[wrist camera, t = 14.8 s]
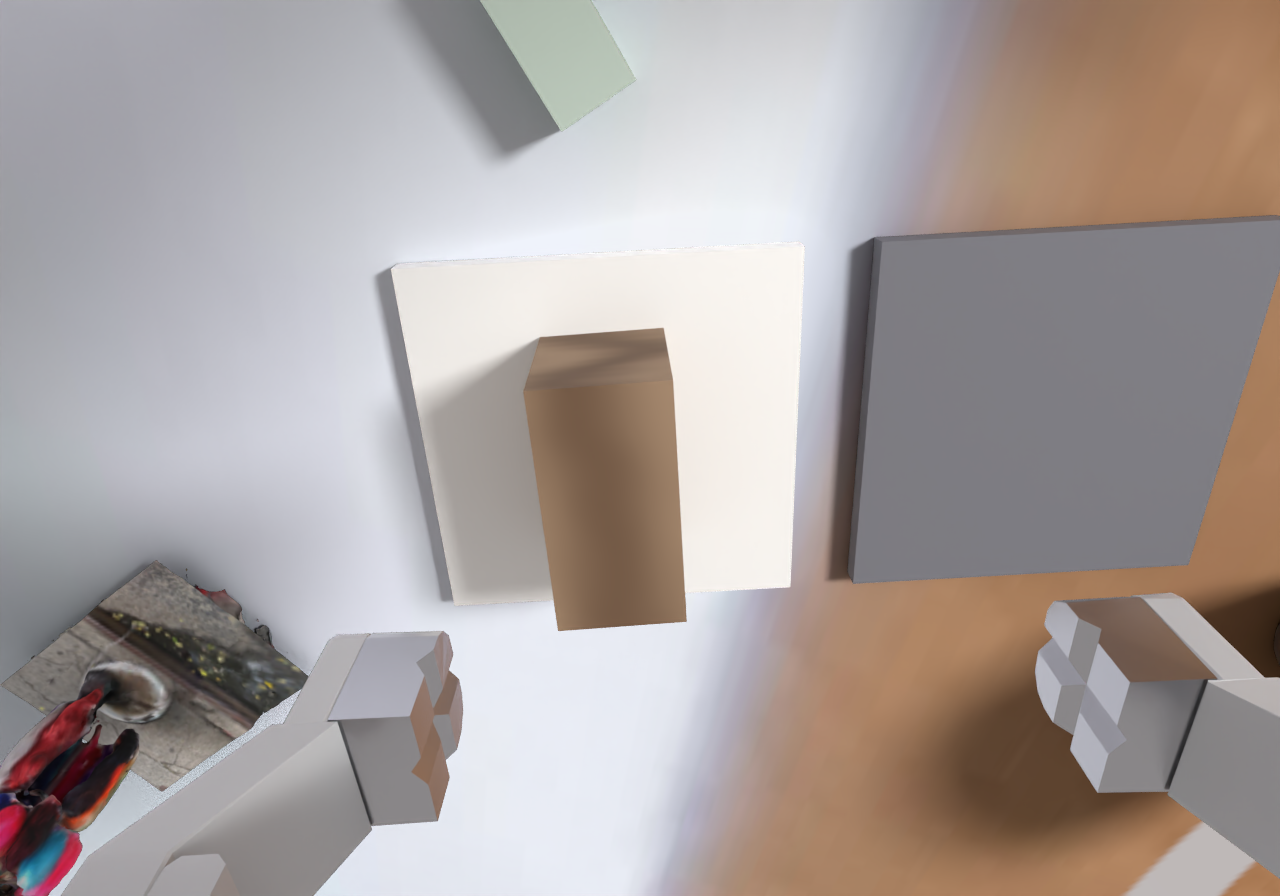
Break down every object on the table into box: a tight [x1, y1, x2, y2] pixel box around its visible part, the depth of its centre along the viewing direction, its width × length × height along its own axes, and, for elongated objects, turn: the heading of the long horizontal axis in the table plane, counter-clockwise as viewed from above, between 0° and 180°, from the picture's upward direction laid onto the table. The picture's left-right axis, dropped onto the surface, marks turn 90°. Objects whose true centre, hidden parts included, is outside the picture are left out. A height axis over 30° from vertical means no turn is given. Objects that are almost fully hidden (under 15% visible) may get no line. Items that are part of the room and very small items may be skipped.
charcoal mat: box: [847, 215, 1280, 584], centre depth 34 cm, size 16×16×1 cm
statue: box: [0, 560, 308, 896], centre depth 32 cm, size 11×9×15 cm
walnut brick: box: [523, 328, 687, 631], centre depth 30 cm, size 5×10×6 cm, turn 4°
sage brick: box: [480, 0, 636, 132], centre depth 26 cm, size 6×3×3 cm, turn 32°
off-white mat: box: [391, 241, 805, 606], centre depth 34 cm, size 16×16×1 cm
